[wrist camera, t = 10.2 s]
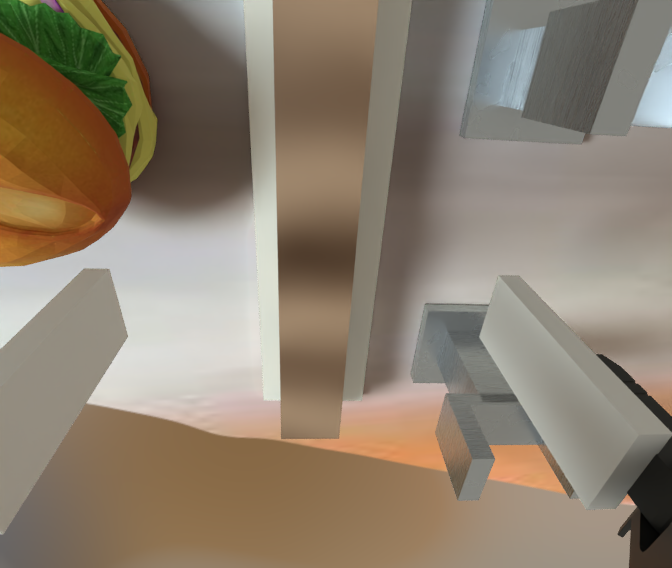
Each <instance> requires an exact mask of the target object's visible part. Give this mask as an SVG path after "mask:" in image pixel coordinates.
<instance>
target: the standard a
mask: <svg viewBox="0 0 672 568" xmlns="http://www.w3.org/2000/svg"><path fill="white" fill-rule="evenodd" d="M488 307H489V305H449V304H425V307H424V312H423V317H422V322H421V327H420V332H419V337H418V342H417V347H416V351H415V356H414V361H413V366H412V371H411V377H412V380H413V383H445V384H446V386H447V388H448V391H449V393H446V395H445V399H444V402H443V406H442V410H441V413H440V417H439V421H438V424H437V428H436V432H435V434H436V437H437V440H438V443H439V446H440V449H441V452H442V455H443V458H444V461H445V464H446V467H447V470H448V473H449V476H450V479H451V482H452V485H453V488H454V491H455V494H456V497H457V500H459V501H462V500H479V498H480V495H481V493H482V490H483V488H484V485H485V483H486V480H487V478H488V475H489V473H490V471H491V468H492V466H493V463H494V461H495V458H494V455H493V453H492V451H491V449H490V447H489V445H538V446H539V448H540V449H541V451H542V453H543V454H544V456H545V458H546V459H547V461H548V463H549V464H550V466H551V468H552V469H553V471H554V473H555V474H556V476H557V478H558V480H559V481H560V483H561V485H562V486H563V488H564V490H565V491H566V493H567V495H568V496H569V498H570V499H573V498H574V499H576V498H579V497H578V495H577V494H576V492H575V491H574V489H573V487H572V486H571V484H570V483H569V481H568V479H567V478H566V476H565V475H564V473H563V471H562V470H561V468H560V466H559V465H558V463H557V462H556V460H555V458H554V457H553V455H552V454H551V452H550V450H549V449H548V447H547V446H546V444H545V442H544V441H543V439H542V437H541V436H540V434H539V433H538V431H537V429H536V428H535V426H534V425H533V423H532V421H531V420H530V418H529V417H528V415H527V413H526V412H525V410H524V408H523V407H522V405H521V404H520V402H519V400H518V399H517V397H516V396H515V394H514V392H513V391H512V389H511V388H510V386H509V384H508V383H507V381H506V379H505V378H504V376H503V375H502V373H501V371H500V370H499V368H498V367H497V365H496V363H495V362H494V360H493V359H492V357H491V355H490V354H489V352H488V350H487V349H486V347H485V346H484V344H483V342H482V341H481V339H480V338H479V336H480V333H481V329H482V326H483V323H484V320H485V317H486V314H487V310H488Z"/></svg>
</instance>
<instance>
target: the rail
mask: <svg viewBox="0 0 672 568" xmlns="http://www.w3.org/2000/svg"><path fill="white" fill-rule="evenodd" d="M378 2H379V0H273V48H274V98H275V148H276V198H277V248H278V297H279V347H280V397H281V439H339V433H340V422H341V411H342V400H343V389H344V378H345V367H346V356H347V345H348V333H349V322H350V311H351V300H352V289H353V278H354V267H355V256H356V245H357V234H358V223H359V212H360V201H361V190H362V179H363V168H364V157H365V146H366V135H367V124H368V112H369V101H370V90H371V79H372V68H373V57H374V46H375V35H376V24H377V13H378Z"/></svg>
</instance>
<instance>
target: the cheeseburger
mask: <svg viewBox="0 0 672 568" xmlns="http://www.w3.org/2000/svg"><path fill="white" fill-rule="evenodd" d="M157 121H158V119H157V117H156V116H155V114H154V112H153V111H152V102H151V93H150V83H149V74H148V72H147V70H146V68H145V66H144V64H143V62H142V60H141V58H140V56H139V54H138V52H137V50H136V48H135V46H134V44H133V42H132V40H131V38H130V36H129V34H128V32H127V30H126V28H125V27H124V26H123V25H122V24H121V23H120V21H119V20H118V19H117V18H116V17H115V16H114V14H113V13H112V12H111V11H110V10H109V9H108V8H107V6H106V5H105V4H104V3H103V2H102V1H101V0H0V267H6V266H25V265H29V264H33V263H37V262H41V261H45V260H48V259H52V258H56V257H60V256H64V255H68V254H71V253H74V252H77V251H80V250H83V249H84V248H86V247H88V246H89V245H91V244H92V243H94V242H96V241H97V240H99V239H100V238H101V237H102V236H103V235H105V234H106V233H107V232H108V231H109V230H110V229H112V228H113V227H114V226H115V224H116V223H117V222H118V220H119V219H120V217H121V216H122V215H123V213H124V211H125V210H126V208H127V207H128V205H129V203H130V200H131V197H132V195H131V182H132V181H133V180H135V179H137V178H138V176H139V175H140V174H141V173H142V171H143V170H144V169H145V167H146V166H147V164H148V163H149V161H150V160H151V158H152V157H153V154H154V149H155V144H156V135H157Z"/></svg>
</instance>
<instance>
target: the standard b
mask: <svg viewBox="0 0 672 568" xmlns="http://www.w3.org/2000/svg"><path fill="white" fill-rule="evenodd" d="M630 126H642V127H659V128H672V0H487V2H486V7H485V12H484V17H483V22H482V27H481V32H480V37H479V42H478V47H477V52H476V57H475V61H474V66H473V71H472V76H471V81H470V86H469V91H468V96H467V101H466V106H465V111H464V116H463V120H462V125H461V130H460V135H459V136H461V137H463V138H471V139H490V140H509V141H528V142H546V143H565V144H582V142H583V139H584V136H585V133H587V134H594V135H612V136H627V133H628V131H629V128H630Z"/></svg>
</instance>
